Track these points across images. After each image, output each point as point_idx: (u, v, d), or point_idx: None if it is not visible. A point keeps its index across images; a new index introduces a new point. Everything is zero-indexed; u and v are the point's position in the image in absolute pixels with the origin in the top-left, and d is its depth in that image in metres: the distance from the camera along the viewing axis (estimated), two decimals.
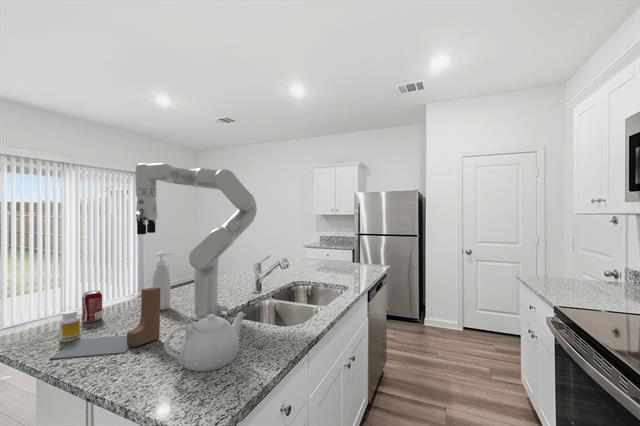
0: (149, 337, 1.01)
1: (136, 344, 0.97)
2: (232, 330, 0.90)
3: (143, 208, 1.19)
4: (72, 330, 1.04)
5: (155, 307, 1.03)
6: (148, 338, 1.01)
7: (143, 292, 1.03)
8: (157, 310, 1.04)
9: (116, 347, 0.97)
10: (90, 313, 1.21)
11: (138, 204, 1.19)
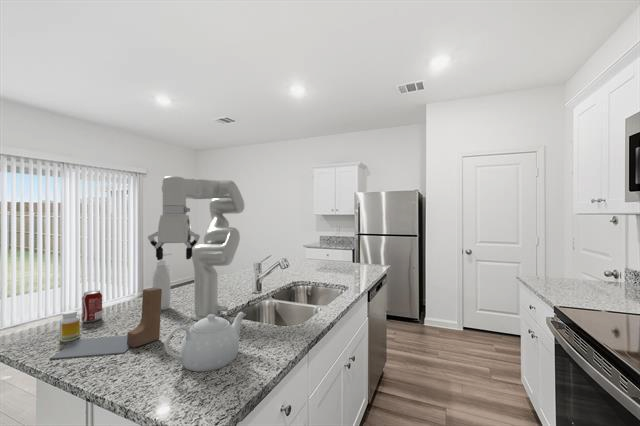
0: (149, 338, 1.01)
1: (136, 345, 0.97)
2: (232, 330, 0.90)
3: (189, 229, 1.05)
4: (72, 330, 1.04)
5: (156, 308, 1.03)
6: (148, 338, 1.01)
7: (144, 292, 1.03)
8: (158, 311, 1.04)
9: (116, 347, 0.97)
10: (90, 313, 1.21)
11: (187, 224, 1.03)
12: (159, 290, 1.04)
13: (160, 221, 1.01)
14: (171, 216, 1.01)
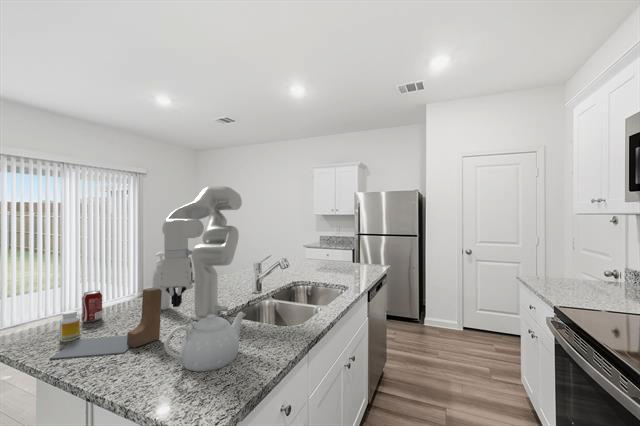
0: (149, 338, 1.01)
1: (136, 345, 0.97)
2: (232, 330, 0.90)
3: (191, 271, 1.05)
4: (72, 330, 1.04)
5: (156, 308, 1.03)
6: (148, 338, 1.01)
7: (144, 292, 1.03)
8: (158, 311, 1.04)
9: (116, 347, 0.97)
10: (90, 313, 1.21)
11: (189, 268, 1.03)
12: (159, 290, 1.04)
13: (162, 265, 1.00)
14: (173, 260, 1.01)
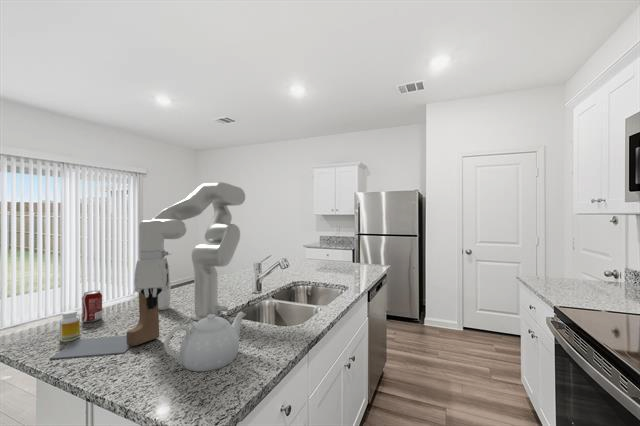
0: (149, 336, 1.01)
1: (136, 342, 0.97)
2: (232, 330, 0.90)
3: (167, 272, 1.03)
4: (72, 330, 1.04)
5: None
6: (148, 336, 1.01)
7: None
8: (155, 308, 1.05)
9: (116, 347, 0.97)
10: (90, 313, 1.21)
11: (165, 269, 1.01)
12: None
13: (137, 267, 0.99)
14: (148, 261, 0.99)
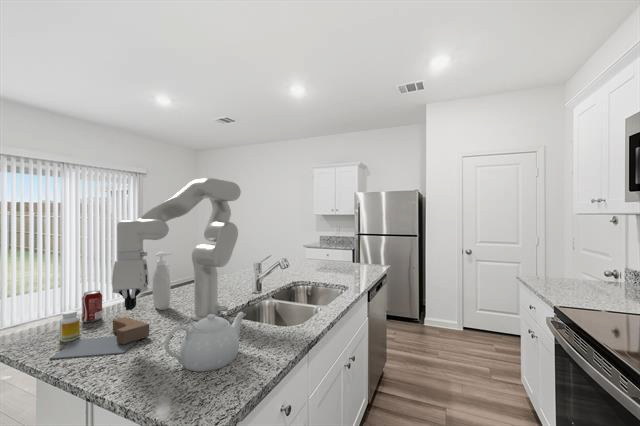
0: (136, 326, 1.03)
1: (124, 330, 0.99)
2: (232, 330, 0.90)
3: (146, 273, 1.02)
4: (72, 330, 1.04)
5: (128, 320, 1.10)
6: (136, 326, 1.03)
7: (113, 328, 1.11)
8: (132, 320, 1.10)
9: (116, 347, 0.97)
10: (90, 313, 1.21)
11: (144, 270, 1.00)
12: (122, 317, 1.14)
13: (114, 267, 0.98)
14: (126, 262, 0.98)
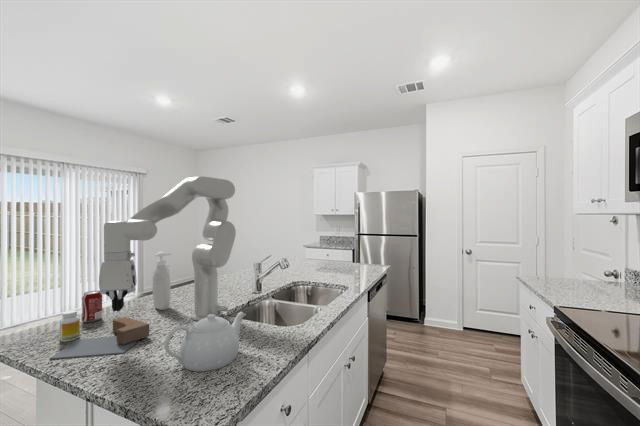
0: (136, 326, 1.03)
1: (124, 330, 0.99)
2: (232, 330, 0.90)
3: (133, 274, 1.02)
4: (72, 330, 1.04)
5: (128, 320, 1.10)
6: (136, 326, 1.03)
7: (113, 328, 1.11)
8: (132, 320, 1.10)
9: (116, 347, 0.97)
10: (90, 313, 1.21)
11: (131, 271, 1.00)
12: (122, 317, 1.14)
13: (101, 268, 0.97)
14: (113, 263, 0.97)
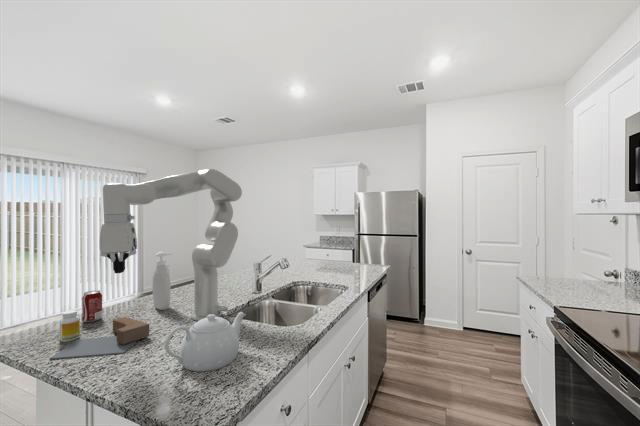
0: (136, 326, 1.03)
1: (124, 330, 0.99)
2: (232, 330, 0.90)
3: (134, 237, 1.02)
4: (72, 330, 1.04)
5: (128, 320, 1.10)
6: (136, 326, 1.03)
7: (113, 328, 1.11)
8: (132, 320, 1.10)
9: (116, 347, 0.97)
10: (90, 313, 1.21)
11: (131, 233, 1.00)
12: (122, 317, 1.14)
13: (101, 230, 0.97)
14: (113, 225, 0.98)
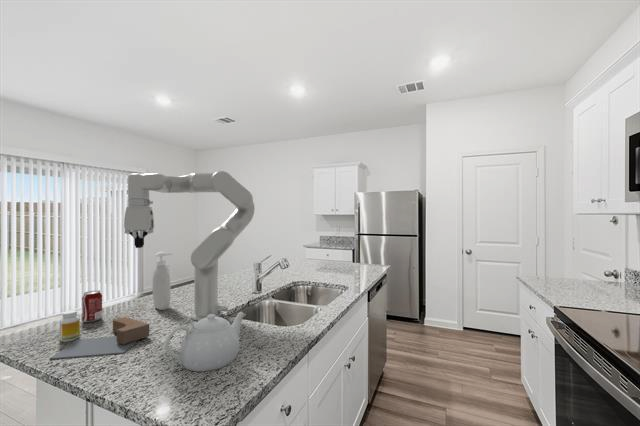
0: (136, 326, 1.03)
1: (124, 330, 0.99)
2: (232, 330, 0.90)
3: (152, 219, 1.23)
4: (72, 330, 1.04)
5: (128, 320, 1.10)
6: (136, 326, 1.03)
7: (113, 328, 1.11)
8: (132, 320, 1.10)
9: (116, 347, 0.97)
10: (90, 313, 1.21)
11: (150, 215, 1.21)
12: (122, 317, 1.14)
13: (126, 212, 1.19)
14: (135, 207, 1.19)
